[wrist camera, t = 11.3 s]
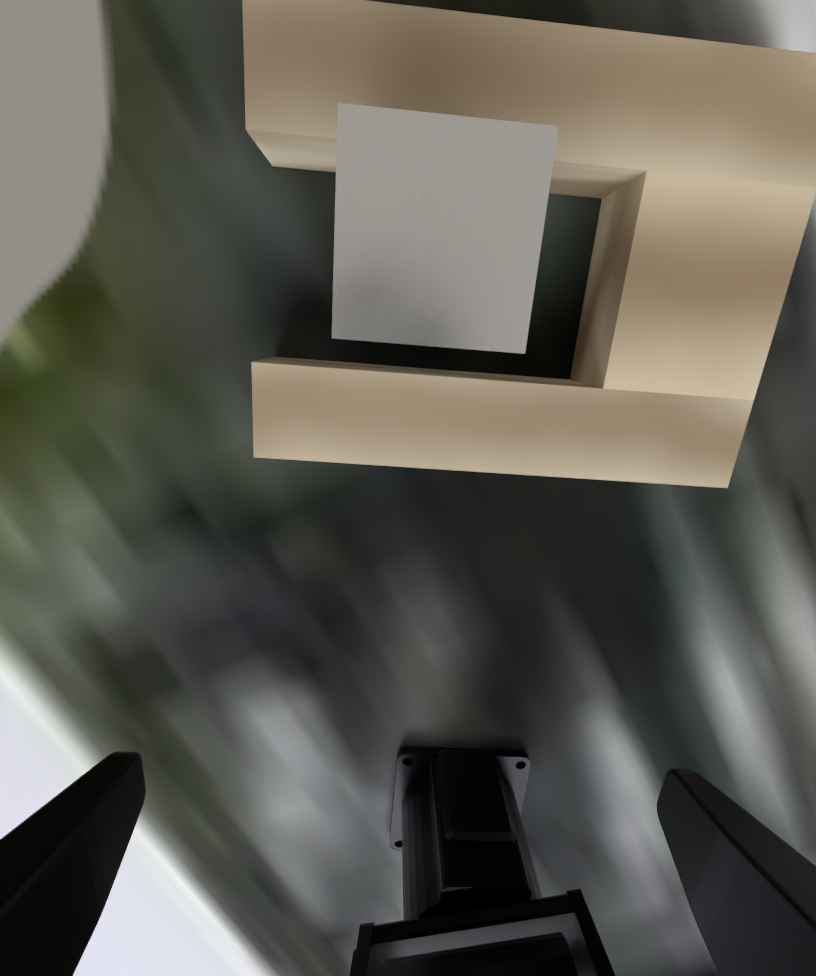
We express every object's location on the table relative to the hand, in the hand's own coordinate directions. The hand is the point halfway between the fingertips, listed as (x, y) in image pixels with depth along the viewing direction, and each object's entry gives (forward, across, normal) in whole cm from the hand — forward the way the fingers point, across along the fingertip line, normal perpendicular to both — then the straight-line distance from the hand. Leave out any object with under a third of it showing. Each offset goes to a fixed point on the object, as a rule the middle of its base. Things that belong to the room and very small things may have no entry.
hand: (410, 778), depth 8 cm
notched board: (+12, -3, -9) cm, 15 cm away
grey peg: (+12, 0, -9) cm, 15 cm away
